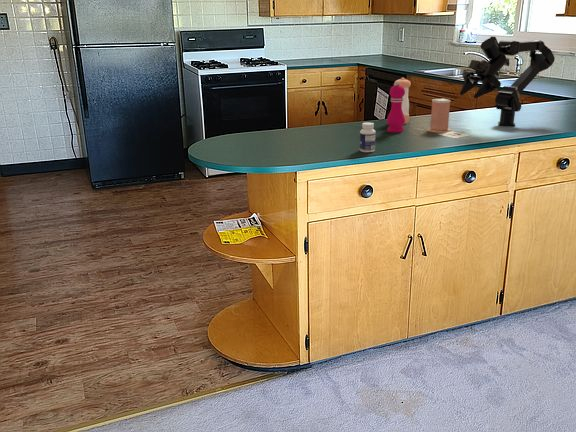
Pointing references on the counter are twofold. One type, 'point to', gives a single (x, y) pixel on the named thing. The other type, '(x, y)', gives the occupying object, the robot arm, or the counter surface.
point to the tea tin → (440, 114)
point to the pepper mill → (396, 109)
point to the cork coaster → (438, 131)
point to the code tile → (454, 134)
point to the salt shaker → (405, 98)
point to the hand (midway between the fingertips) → (467, 96)
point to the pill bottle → (367, 137)
